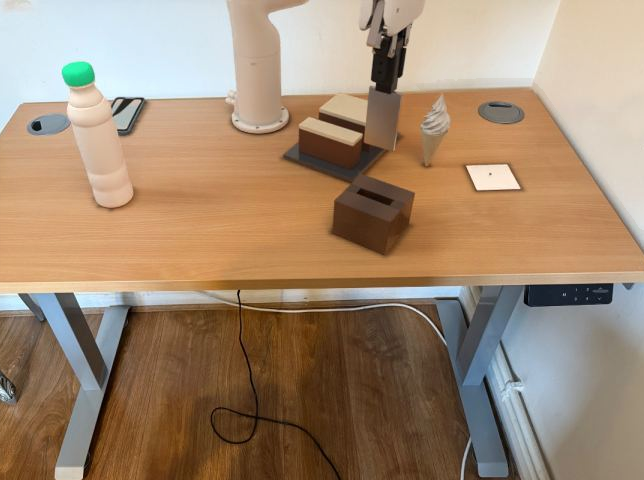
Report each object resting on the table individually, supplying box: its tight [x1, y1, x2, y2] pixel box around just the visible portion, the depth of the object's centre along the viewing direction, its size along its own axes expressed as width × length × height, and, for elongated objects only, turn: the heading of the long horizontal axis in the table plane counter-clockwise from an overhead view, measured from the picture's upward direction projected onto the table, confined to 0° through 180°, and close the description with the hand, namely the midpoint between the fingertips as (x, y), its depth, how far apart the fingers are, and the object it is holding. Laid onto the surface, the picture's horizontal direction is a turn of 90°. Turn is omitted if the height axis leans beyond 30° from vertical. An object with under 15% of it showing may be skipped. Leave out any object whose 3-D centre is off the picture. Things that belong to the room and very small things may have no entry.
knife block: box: [331, 173, 416, 256], centre depth 89 cm, size 10×9×7 cm
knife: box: [364, 36, 404, 152], centre depth 76 cm, size 5×2×16 cm, turn 55°
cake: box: [318, 92, 375, 152], centre depth 109 cm, size 12×8×6 cm, turn 55°
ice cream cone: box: [419, 92, 451, 167], centre depth 99 cm, size 5×5×15 cm
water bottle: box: [61, 60, 134, 209], centre depth 91 cm, size 7×7×25 cm
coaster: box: [465, 164, 521, 191], centre depth 100 cm, size 8×8×1 cm
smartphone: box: [110, 96, 146, 136], centre depth 120 cm, size 7×1×15 cm
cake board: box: [283, 131, 401, 184], centre depth 109 cm, size 16×20×1 cm
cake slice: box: [298, 116, 363, 170], centre depth 103 cm, size 12×4×6 cm, turn 55°
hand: (386, 78), depth 74 cm, fingers closed on knife, 2 cm apart
